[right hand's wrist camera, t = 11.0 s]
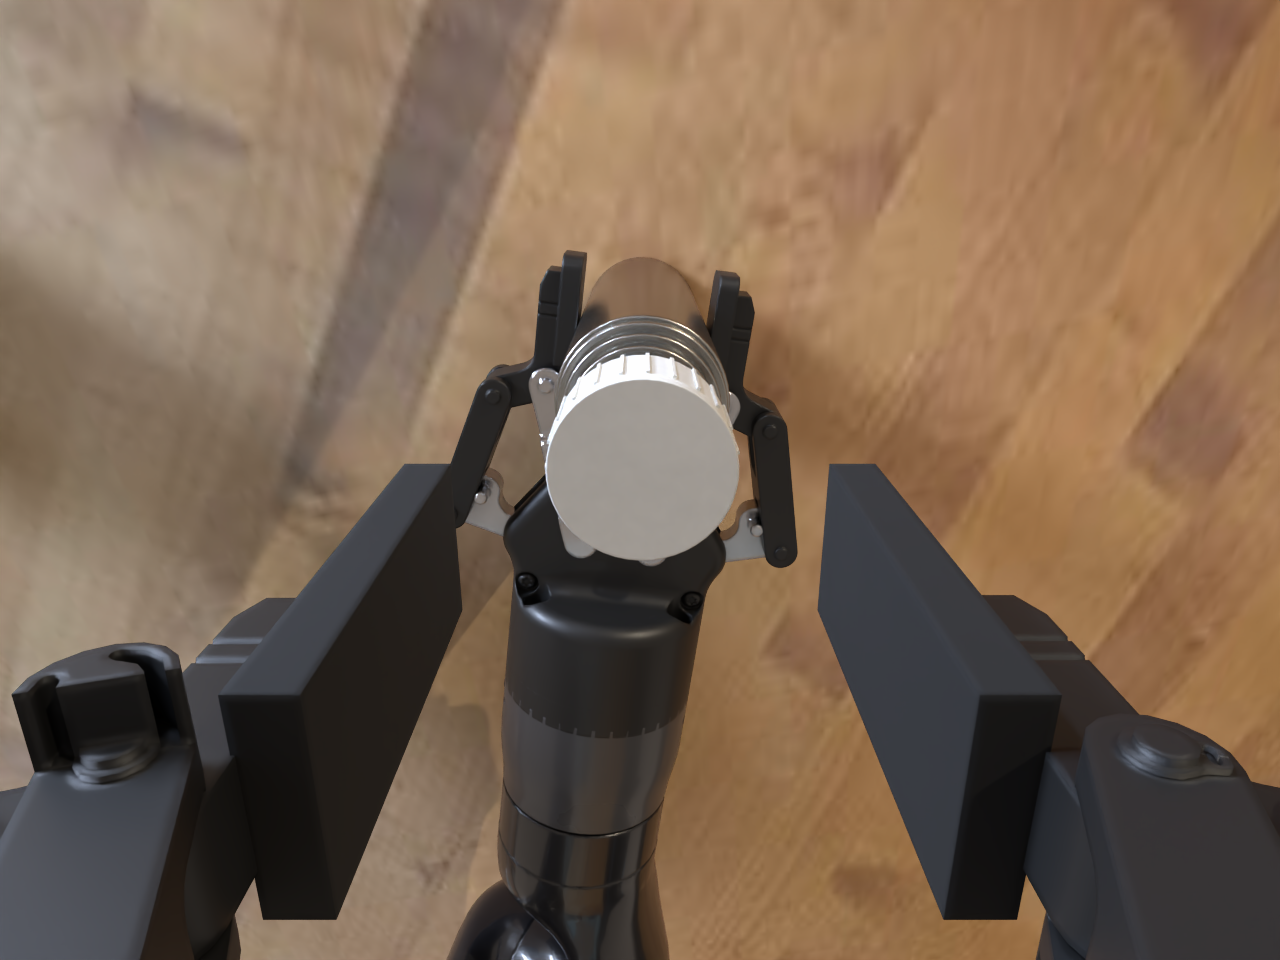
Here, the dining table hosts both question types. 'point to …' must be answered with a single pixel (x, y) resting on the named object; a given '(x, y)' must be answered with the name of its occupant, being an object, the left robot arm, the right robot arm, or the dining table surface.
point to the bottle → (641, 325)
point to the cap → (642, 458)
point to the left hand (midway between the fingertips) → (650, 265)
